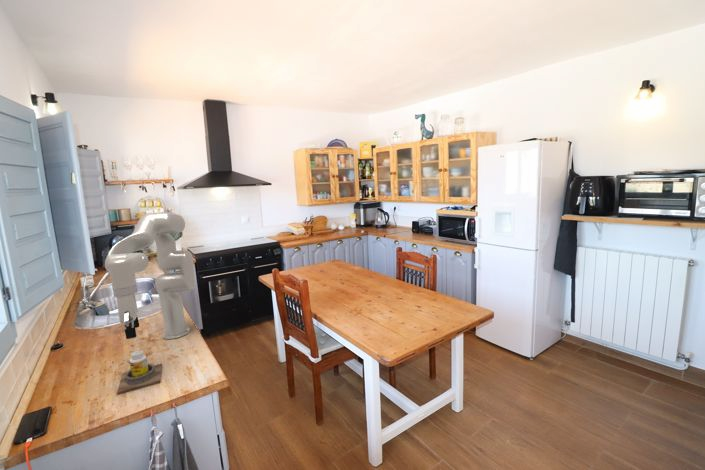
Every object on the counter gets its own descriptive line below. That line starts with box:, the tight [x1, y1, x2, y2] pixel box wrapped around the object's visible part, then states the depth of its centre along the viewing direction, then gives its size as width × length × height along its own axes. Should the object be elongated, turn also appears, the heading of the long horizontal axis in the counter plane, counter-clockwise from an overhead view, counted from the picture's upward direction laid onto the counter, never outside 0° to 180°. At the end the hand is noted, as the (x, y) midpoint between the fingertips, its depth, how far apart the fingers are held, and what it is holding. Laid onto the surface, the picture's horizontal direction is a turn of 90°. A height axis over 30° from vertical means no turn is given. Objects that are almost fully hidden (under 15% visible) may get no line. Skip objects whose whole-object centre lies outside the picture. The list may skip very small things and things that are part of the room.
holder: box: [116, 363, 163, 396], centre depth 133 cm, size 14×14×4 cm
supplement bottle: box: [129, 350, 149, 378], centre depth 133 cm, size 6×6×10 cm
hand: (133, 332), depth 130 cm, fingers open, 9 cm apart
